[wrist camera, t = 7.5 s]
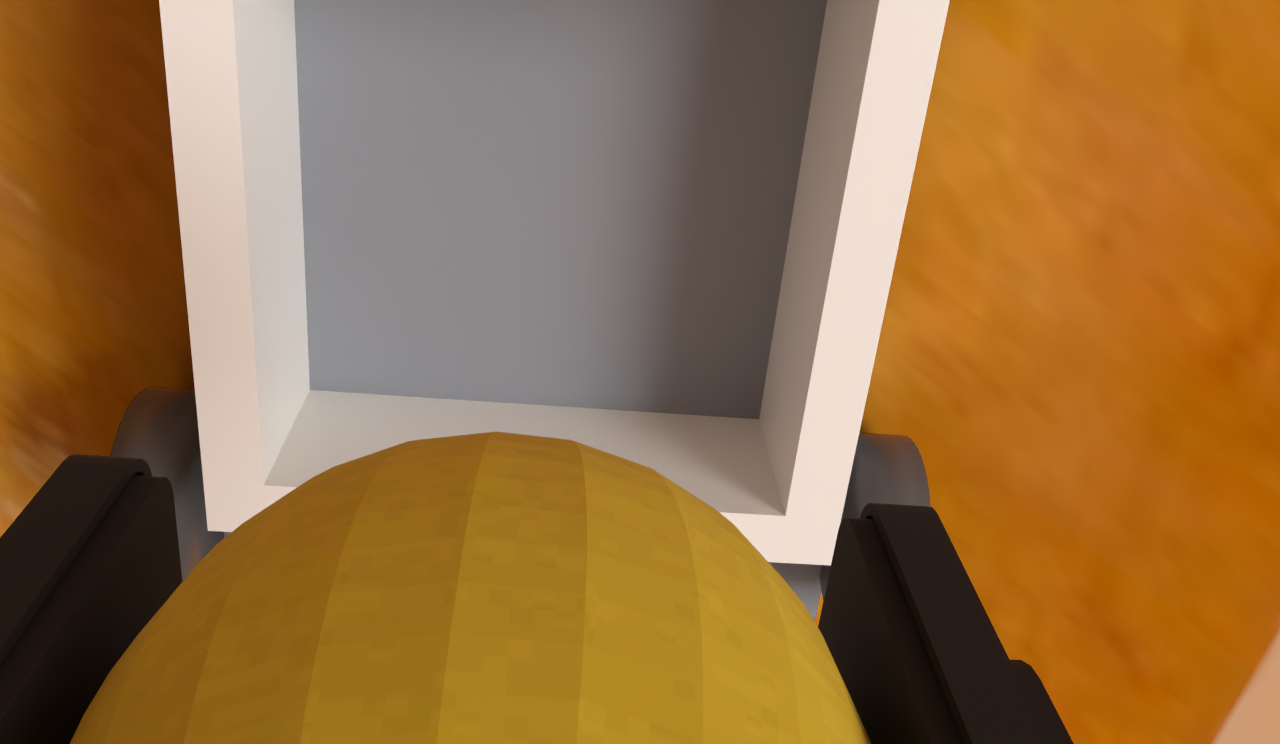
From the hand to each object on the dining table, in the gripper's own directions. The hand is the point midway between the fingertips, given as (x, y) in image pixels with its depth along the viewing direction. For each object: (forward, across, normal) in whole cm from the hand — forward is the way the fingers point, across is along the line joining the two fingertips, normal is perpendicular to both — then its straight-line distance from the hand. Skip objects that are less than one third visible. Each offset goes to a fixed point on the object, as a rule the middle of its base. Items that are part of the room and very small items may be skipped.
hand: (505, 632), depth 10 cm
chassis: (+13, 0, 0) cm, 13 cm away
